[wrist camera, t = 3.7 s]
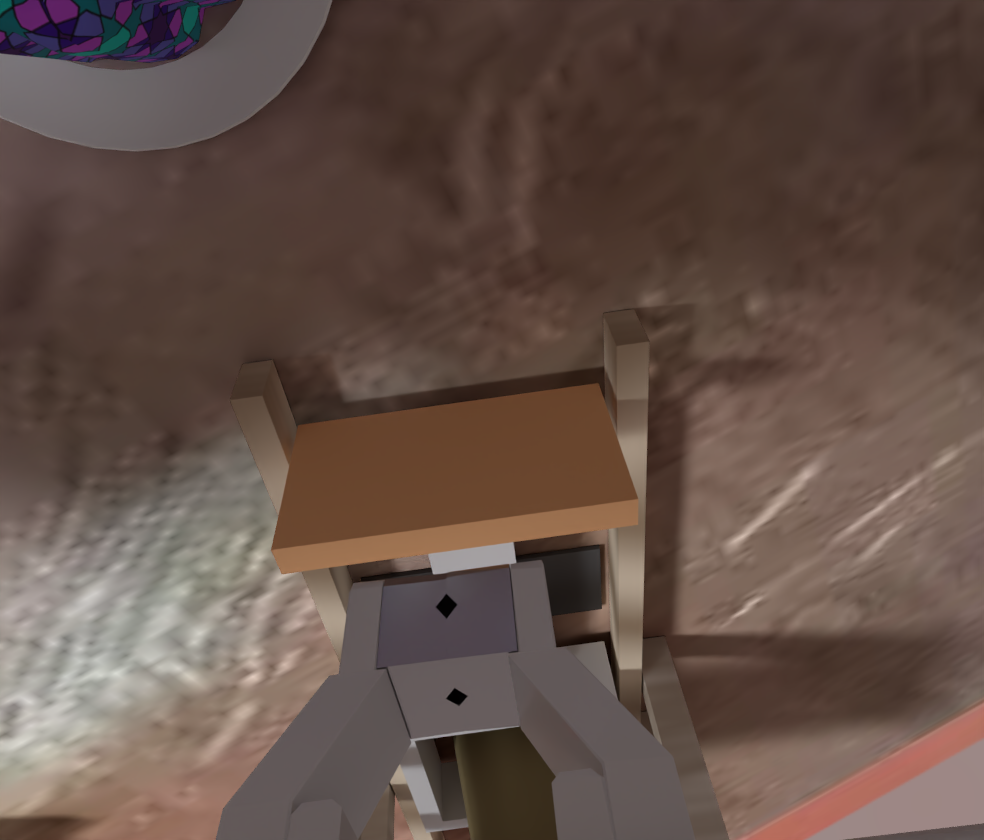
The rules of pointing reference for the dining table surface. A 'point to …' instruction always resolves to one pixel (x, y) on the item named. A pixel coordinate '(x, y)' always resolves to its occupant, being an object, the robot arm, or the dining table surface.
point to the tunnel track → (565, 570)
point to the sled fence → (454, 508)
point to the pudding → (149, 91)
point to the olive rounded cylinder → (505, 786)
